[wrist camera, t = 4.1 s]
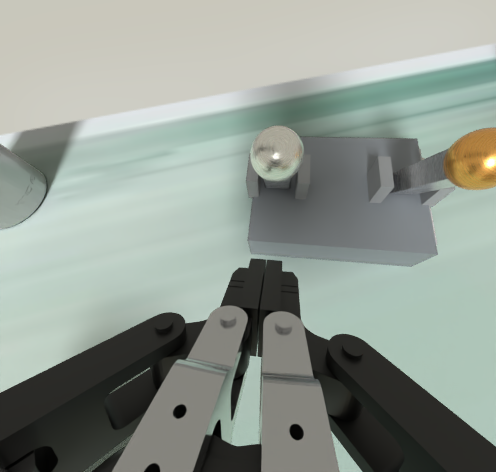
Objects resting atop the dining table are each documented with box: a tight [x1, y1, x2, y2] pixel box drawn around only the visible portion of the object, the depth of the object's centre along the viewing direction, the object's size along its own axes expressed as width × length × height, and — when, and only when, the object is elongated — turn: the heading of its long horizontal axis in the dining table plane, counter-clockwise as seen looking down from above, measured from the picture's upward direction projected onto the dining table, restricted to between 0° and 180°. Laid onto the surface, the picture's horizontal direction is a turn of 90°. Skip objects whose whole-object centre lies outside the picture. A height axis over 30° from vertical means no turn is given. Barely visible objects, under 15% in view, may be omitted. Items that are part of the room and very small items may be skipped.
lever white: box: [250, 126, 304, 189], centre depth 18 cm, size 3×3×10 cm
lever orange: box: [390, 128, 496, 194], centre depth 17 cm, size 3×3×10 cm
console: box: [246, 137, 455, 267], centre depth 23 cm, size 17×12×7 cm
